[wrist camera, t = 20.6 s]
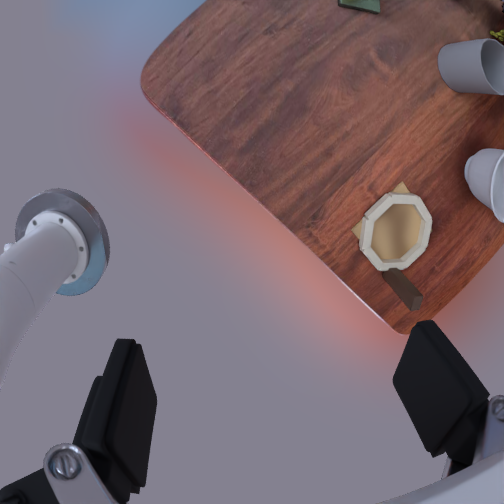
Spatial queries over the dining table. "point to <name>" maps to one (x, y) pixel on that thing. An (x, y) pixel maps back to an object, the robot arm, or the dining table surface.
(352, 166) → the dining table surface
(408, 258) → the ring
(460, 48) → the cup
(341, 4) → the stand
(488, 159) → the teacup
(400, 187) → the cork pad
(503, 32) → the decorative flower
